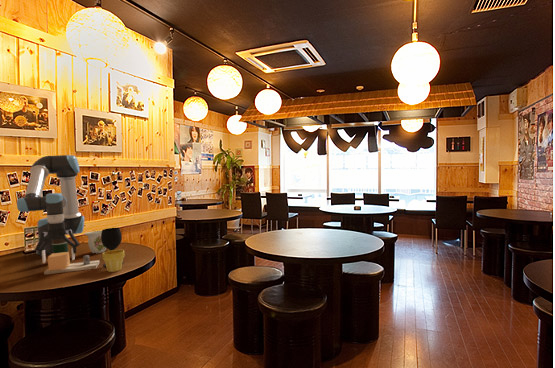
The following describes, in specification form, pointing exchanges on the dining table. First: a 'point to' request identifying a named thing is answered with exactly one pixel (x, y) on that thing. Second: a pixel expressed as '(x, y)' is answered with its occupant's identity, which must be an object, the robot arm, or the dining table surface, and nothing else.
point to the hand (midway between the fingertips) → (59, 261)
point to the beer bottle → (59, 246)
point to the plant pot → (113, 260)
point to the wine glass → (111, 238)
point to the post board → (76, 266)
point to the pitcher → (95, 242)
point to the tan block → (58, 261)
